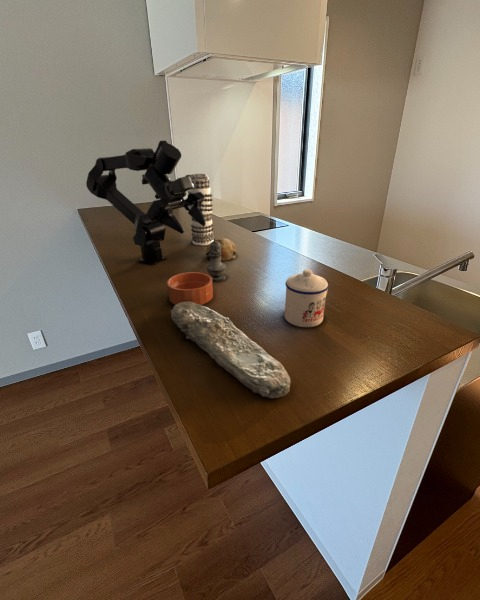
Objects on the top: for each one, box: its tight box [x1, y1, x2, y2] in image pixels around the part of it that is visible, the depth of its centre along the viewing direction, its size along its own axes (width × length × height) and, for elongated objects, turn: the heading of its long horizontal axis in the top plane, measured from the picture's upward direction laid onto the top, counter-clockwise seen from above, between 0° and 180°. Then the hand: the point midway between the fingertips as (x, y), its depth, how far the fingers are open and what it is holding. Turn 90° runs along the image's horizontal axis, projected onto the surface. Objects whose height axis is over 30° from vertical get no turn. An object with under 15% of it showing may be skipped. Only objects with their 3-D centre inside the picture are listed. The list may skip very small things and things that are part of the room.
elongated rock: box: [170, 302, 291, 399], centre depth 62 cm, size 35×5×10 cm
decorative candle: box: [186, 173, 215, 246], centre depth 120 cm, size 9×9×25 cm
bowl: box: [166, 271, 214, 306], centre depth 81 cm, size 11×11×5 cm
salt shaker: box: [205, 237, 227, 282], centre depth 91 cm, size 6×6×12 cm
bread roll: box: [205, 237, 237, 261], centre depth 109 cm, size 10×10×8 cm
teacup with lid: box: [284, 268, 329, 328], centre depth 71 cm, size 12×9×12 cm
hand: (194, 228), depth 91 cm, fingers open, 9 cm apart
